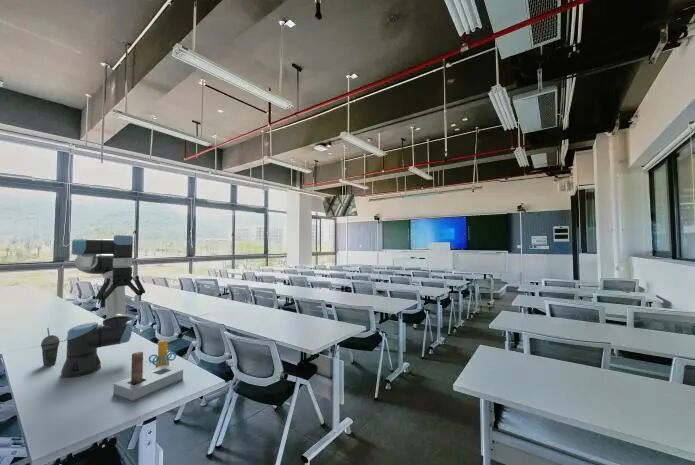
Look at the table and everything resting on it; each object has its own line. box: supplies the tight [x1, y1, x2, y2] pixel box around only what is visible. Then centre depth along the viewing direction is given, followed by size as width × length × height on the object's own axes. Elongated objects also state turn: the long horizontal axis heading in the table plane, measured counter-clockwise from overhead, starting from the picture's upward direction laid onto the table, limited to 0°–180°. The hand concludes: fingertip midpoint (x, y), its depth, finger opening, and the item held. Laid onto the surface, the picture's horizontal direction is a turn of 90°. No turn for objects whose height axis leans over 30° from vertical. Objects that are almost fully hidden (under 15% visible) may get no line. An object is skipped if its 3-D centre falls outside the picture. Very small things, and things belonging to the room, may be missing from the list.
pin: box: [130, 351, 144, 385], centre depth 128 cm, size 4×4×16 cm
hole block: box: [112, 365, 184, 404], centre depth 133 cm, size 14×22×5 cm, turn 155°
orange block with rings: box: [148, 339, 177, 368], centre depth 152 cm, size 12×10×15 cm
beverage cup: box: [40, 327, 61, 367], centre depth 159 cm, size 7×7×20 cm
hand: (121, 311), depth 141 cm, fingers open, 13 cm apart
